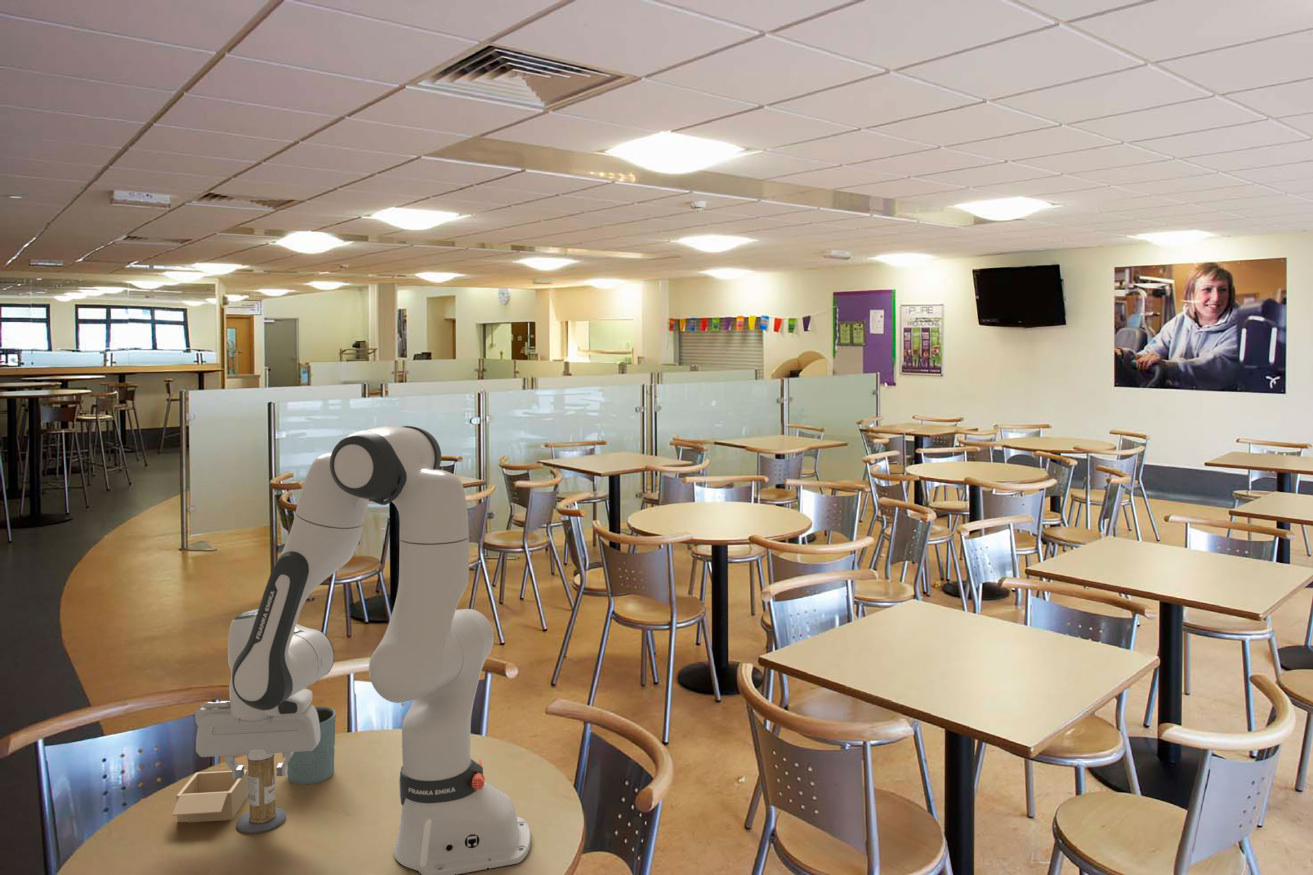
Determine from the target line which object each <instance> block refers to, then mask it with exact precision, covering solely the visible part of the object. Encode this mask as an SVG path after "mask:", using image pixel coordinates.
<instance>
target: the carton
mask: <svg viewBox="0 0 1313 875" xmlns="http://www.w3.org/2000/svg"><path fill="white" fill-rule="evenodd" d="M175 797H176V803H175V806H174V809H173V812H172V814H171V816H173V817H174V816H176V817H177V818H176V820H177V822H188V823H202V822H217V821H232V820H233V819H234V818H235V816H236V815H237V813H238V812H239V810H240V809H241V807H242V806H243V804H245V801H246V800H247V798H249V793H248V768H244V776H243V777H242V778H239V779H233V778H232V770H231V769H218V770H202V771H198V772H195V773H194V774H193V775H192V776H191V777H190V779H189V780H188V781H187V782H186V784H185V785H184V786H183V787H182V789H181V790H179V792H178V793H177V795H176V796H175Z"/></svg>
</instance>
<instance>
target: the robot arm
mask: <svg viewBox="0 0 1313 875" xmlns="http://www.w3.org/2000/svg"><path fill="white" fill-rule="evenodd" d="M441 464H442V451H441V447H440V445H439V442H438V440H437V439H436V438H435V437H434V436H433V435H432V434H431V433H430V432H429V431H427V430H425V429H423V428H421V427H416V426H412V425H403V426H389V425H388V426H387V425H385V426H377V427H374V428H370V429H364V430H357V431H355V432H353V433H352V432H351V433H350V434H348V435H347V436H345V437H344V438H342V439H341V440H340V441H338V442H337V443H336V445H335V446H334V448H333V450H332V451H331V452H328V453H323V454H321V455H319V456H318V457H316V458H315V459H314V460H313V462H312V463H311V465H310V468H309V470H308V471H307V474H306V476H305V479H304V482H303V485H302V488H301V491H300V494H299V497H298V500H297V504H296V509H295V512H294V517H293V522H292V525H291V528H290V532H289V534H288V537H287V538H286V543H285V544H284V547H283V549H282V551H281V553H280V555H279V557H278V559H277V560H276V562H275V564H274V566H273V568H272V570H271V572H270V575H269V577H268V580H267V583H266V586H265V589H264V591H263V595H262V597H261V601H260V604H259V606H258V608H256V609H253V610H252V609H251V610H248V611H245V612H243V613H240V614H238V615H236V616H235V617H234V618H233V619H232V621H231V623H230V626H229V629H228V635H227V636H228V638H227V641H228V642H227V659H228V660H227V661H228V662H227V663H228V667H229V668H230V673H231V674H230V675H231V677H230V681H229V686H228V688H229V700H225V701H223V700H222V701H217V702H216V701H215V702H214V701H208V702H207V701H206V702H204V703H203V704H201V705H200V706H198V707H197V708H196V710H195V713H194V714H195V717H194V718H195V724H196V726H197V730H196V731H197V732H196V737H195V738H196V739H195V752H196V754H198V756H199V757H201V758H207V757H208V758H210V757H213V758H214V757H224V762H225V764H226V765H227V767H229V770H232V778H233V779H239V778H242V777H243V776H244V769H245V765H244V764H239V762H238V761H237V759H236V757H237V756H242V755H243V756H244V755H246V756H247V755H248V754H249V753H250V751H251V750H259V749H262V750H265V752H266V753H275V754H279V753H280V754H281V753H282V754H281V756H282V758H283V759H284V761H283V762H279V763H278V764H277V766H276V775H275V776H276V777H286V776H287V772H288V762H289V760H290V758H291V757H292V755H293V753H294V752H302V751H312V750H314V749H315V747H316V746H317V745H318V743H319V741H320V724H319V718H318V713H317V710H316V708H315V707H316V706H314V705H313V704H311V703H312V701H313V691H312V690H310V689H308V687H310V686H311V685H312V684H315V683H316V682H318V681H320V680H322V679H323V678H324V677H325V676H327V675H329V673H330V672H331V671H332V668H333V665H334V662H335V650H334V646H333V643H332V641H331V639H330V638H329V637H328V635H326V634H325V633H324V632H323V631H322V630H319V629H317V628H314V627H313V628H312V627H306V626H303V625H302V624H299V623H298V620H299V617H300V615H301V610H302V608H303V607H304V604H305V602H306V601H307V600H308V598H309V596H310V595H311V594H312V592H314V591H315V589H317V588H318V587H319V586H320V585H321V584H322V583H323V582H324V581H326V580H327V578H329V577H331V576H332V575H333V574H334V573H336V572H337V571H338V570H340V569H342V568H343V567H344V566H345V565H346V564H348V562H350V560H351V559H352V558H353V556H354V554H355V552H356V550H357V548H358V545H359V544H360V541H361V537H362V533H363V529H364V524H365V518H366V516H367V515H366V514H367V509H368V506H369V503H370V502H373V503H375V504H378V505H381V506H386V505H388V504H390V503H392V504H394V506H395V507H396V509H397V511H398V517H399V518H398V519H399V557H398V558H399V562H398V564H399V566H398V568H399V572H398V587H397V592H396V598H395V600H394V601H395V602H394V606H393V609H392V611H391V612H392V613H391V615H390V618H389V622H388V625H387V627H386V630H385V632H384V634H383V637H382V639H381V640H380V643H379V644H378V645H377V647H376V648H375V650H374V651H373V653H372V654H371V656H370V659H369V663H368V674H369V679H370V683H371V685H372V686H373V689H374V690H375V691H376V693H377V694H378V695H379V696H380V697H381V698H383V699H384V700H386V701H388V702H391V703H395V704H399V703H405V702H406V703H407V702H411V701H412V703H411V706H410V707H409V709H408V711H407V713H406V714H405V716H404V717H403V721H402V725H401V747H402V748H401V753H402V755H401V756H402V759H401V760H402V766H401V768H400V771H399V773H400V774H399V776H398V777H399V780H398V781H399V787H398V788H399V798H400V804H401V814H400V824H399V831H398V834H397V838H396V843H395V846H394V850H393V855H394V858H395V860H396V861H397V863H399V864H400V865H402V866H404V867H406V868H409V869H412V870H415V871H417V872H419V873H420V875H455V874H456V875H460V874H467V873H471V872H477V871H483V870H488V869H487V868H489V869H493V868H499V867H505V866H510V865H515V864H519V863H521V862H522V861H523V860H524V859H525V858H526V857H527V855H528V854H529V851H530V849H531V844H532V842H531V841H532V836H531V835H532V834H531V830H530V826H529V823H528V822H527V821H526V820H525V819H524V818H522V817H520V816H517V812H516V809H515V806H514V802H513V801H512V799H511V797H510V796H509V795H508V794H506V793H504V792H502V791H501V790H499V789H497V788H496V787H494V786H492V785H490V784H489V783H487V782H486V781H485V776H484V767H483V765H482V764H483V763H482V760H481V759H479V760H478V762H476V761H474V760H473V759H472V758H471V732H472V731H471V726H472V724H471V723H472V714H473V708H474V702H475V698H476V694H477V689H478V685H479V682H480V677H481V674H482V670H483V667H484V665H485V662H486V660H487V658H488V657H489V655H490V653H491V651H492V649H493V647H494V642H495V636H494V634H495V633H494V629H493V627H492V624H491V622H490V621H489V620H488V618H487V617H486V616H485V615H484V614H483V613H481V612H480V611H478V610H476V609H473V608H462V609H458V605H459V603H460V600H461V598H462V596H463V595H464V593H465V592H466V590H467V587H468V584H469V581H470V580H469V579H470V531H469V530H470V529H469V527H470V526H469V513H468V507H467V506H468V505H467V499H466V494H465V489H464V485H463V483H462V481H461V479H460V478H459V477H458V476H457V475H456V474H454V473H452V472H450V471H447V470H444V469H439V468H440V466H441Z"/></svg>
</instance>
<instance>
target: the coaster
mask: <svg viewBox="0 0 1313 875" xmlns="http://www.w3.org/2000/svg"><path fill="white" fill-rule="evenodd" d="M275 809H276V816H275V817H274V818H273V819H272V820H270V821H268V822H265V823H259V824H257V823H252V822H251V821H249V816H250V811H249V812H246V813H243V815H241V816H240V817H239V818H238V819H237V821H236V828H237V830H238V831H239V832H240V833H244V834H259V833H260V834H261V833H265V832H269V831H272V830H274V829H277V828H278V827H280V826H281V825H283V824H284V822H286V820H287V813H286V811H285V810H284V809H283V808H281V807H277V806H275Z"/></svg>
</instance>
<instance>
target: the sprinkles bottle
mask: <svg viewBox="0 0 1313 875" xmlns="http://www.w3.org/2000/svg"><path fill="white" fill-rule="evenodd" d="M275 754H276V753H266V752H265V750H262V749H259V750H251V751H250V753H249V754H248V755H246V759H247V769H248V793H249V795H248V805H249V808H248V809H249V812H250V816H249V821H251V822H252V823H257V824H259V823H265V822H268V821H270V820H272V819H273V818H274V817H275V816H276V809H275V807H276V775H275Z"/></svg>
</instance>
